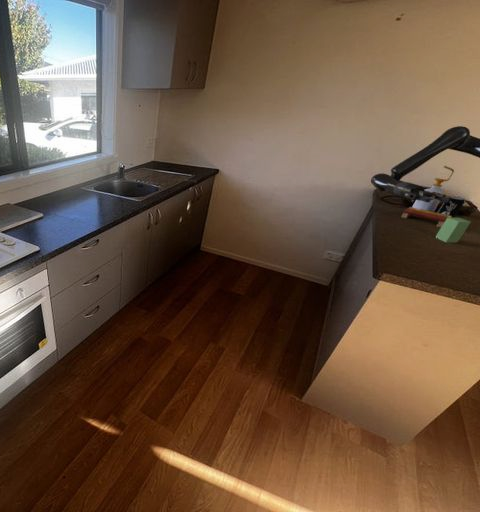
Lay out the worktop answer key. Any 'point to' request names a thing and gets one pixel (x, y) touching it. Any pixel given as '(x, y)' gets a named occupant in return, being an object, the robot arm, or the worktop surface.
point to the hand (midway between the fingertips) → (439, 200)
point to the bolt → (467, 209)
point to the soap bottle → (433, 203)
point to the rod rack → (426, 215)
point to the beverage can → (452, 206)
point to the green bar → (452, 229)
